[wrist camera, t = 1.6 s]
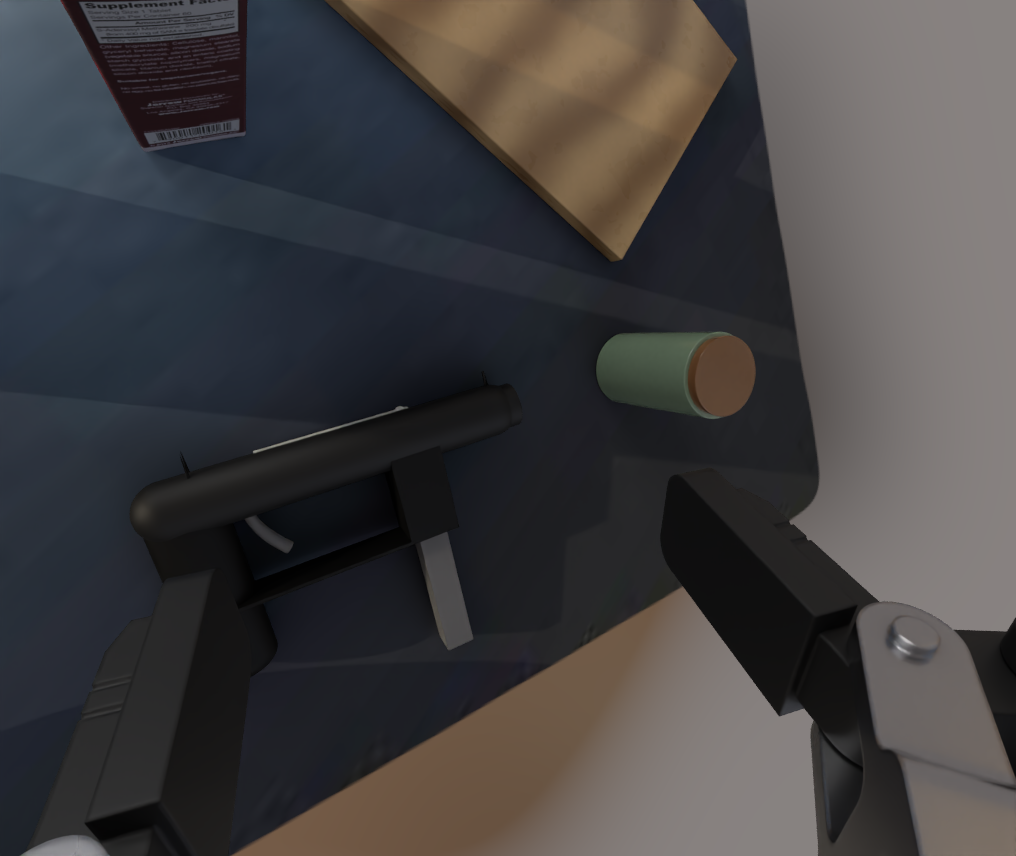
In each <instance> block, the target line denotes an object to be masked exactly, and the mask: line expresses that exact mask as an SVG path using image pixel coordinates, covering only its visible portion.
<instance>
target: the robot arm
mask: <svg viewBox="0 0 1016 856" xmlns="http://www.w3.org/2000/svg"><path fill="white" fill-rule="evenodd" d="M660 541H661V548H662V552H663V555H664V558H665V561H666V563H667V565H668V566H669V568H670V569H671V571H672V572H673V573H674V575H675V576H676V577H677V579H678V580H679V582H680V583H681V584H682V586H683V587H684V588H685V590H686V591H687V592H688V594H689V595H690V596H691V597H692V599H693V600H694V602H695V603H696V605H697V606H698V607H699V609H700V610H701V611H702V613H703V614H704V615H705V617H706V618H707V619H708V621H709V622H710V623H711V625H712V626H713V628H714V629H715V630H716V631H717V633H718V634H719V636H720V637H721V638H722V640H723V641H724V642H725V644H726V645H727V646H728V648H729V649H730V651H731V652H732V653H733V654H734V656H735V657H736V659H737V660H738V661H739V663H740V664H741V665H742V667H743V668H744V669H745V671H746V672H747V674H748V675H749V676H750V678H751V679H752V680H753V682H754V683H755V684H756V686H757V687H758V688H759V690H760V691H761V692H762V694H763V695H764V696H765V698H766V699H767V701H768V702H769V703H770V704H771V706H772V707H773V709H774V710H775V711H776V713H777V714H778V715H779V716H782V715H785V714H788V713H791V712H794V711H798V710H800V709H805V710H806V711H807V712H808V714H809V715H810V716H811V717H812V719H813V720H814V721H813V724H812V727H811V749H812V763H813V777H814V778H813V779H814V793H815V808H816V822H817V837H818V856H1016V618H1015V619H1014V621H1013V623H1012V624H1011V626H1010V627H1009V629H1008V631H1007V632H1000V631H972V630H971V631H970V630H952V629H951V628H950V627H949V626H948V625H947V624H945V623H944V622H942V621H941V620H940V619H938V618H936V617H935V616H933V615H931V614H929V613H927V612H925V611H923V610H921V609H918V608H916V607H913V606H910V605H906V604H902V603H896V602H879V601H878V600H877V599H876V598H874V597H873V596H872V595H871V594H870V593H869V592H868V591H867V590H866V589H864V588H863V587H862V586H861V585H860V584H859V583H858V582H857V581H855V580H854V579H853V578H852V577H851V576H850V575H849V574H848V573H847V572H846V571H845V570H843V569H842V568H841V567H840V566H839V565H838V564H837V563H836V562H835V561H833V560H832V559H831V558H830V557H829V556H828V555H827V554H826V553H824V552H823V551H822V550H821V549H820V548H819V547H818V546H817V545H816V544H815V543H813V542H812V541H811V540H809V541H808V540H807V538H806V535H805V534H804V533H802V532H801V531H800V530H799V529H798V528H797V527H796V526H795V525H791V524H790V523H789V520H788V519H787V518H786V517H785V516H784V515H783V514H781V513H780V512H779V511H778V510H777V509H776V508H775V507H774V506H773V505H772V504H770V503H769V502H768V501H766V500H764V499H762V498H760V497H758V496H756V495H754V494H752V493H750V492H748V491H746V490H744V489H742V488H740V489H735V488H734V487H733V486H732V485H731V484H730V483H729V482H728V481H727V480H726V479H725V478H724V477H723V476H722V475H720V474H719V473H718V472H717V471H716V470H714V469H712V468H706V469H701V470H696V471H691V472H686V473H682V474H677V475H673V476H672V477H671V478H670V479H669V482H668V486H667V493H666V500H665V507H664V514H663V521H662V528H661V536H660ZM251 664H252V659H251V646H250V640H249V636H248V632H247V629H246V627H245V624H244V622H243V619H242V617H241V614H240V612H239V609H238V607H237V604H236V602H235V599H234V597H233V594H232V592H231V589H230V587H229V584H228V582H227V579H226V577H225V575H224V573H223V571H222V570H221V569H219V568H215V569H211V570H206V571H201V572H196V573H191V574H186V575H182V576H177V577H172V578H168V579H166V580H165V581H164V583H163V585H162V587H161V590H160V593H159V596H158V599H157V602H156V605H155V608H154V611H153V614H152V616H149V617H144V618H140V619H135V620H131V621H130V623H129V624H128V625H127V626H126V627H125V629H124V630H123V631H122V632H121V633H120V635H119V636H118V637H117V638H116V639H115V641H114V642H113V643H112V644H111V645H110V647H109V648H108V649H107V650H106V651H105V653H104V656H103V659H102V661H101V664H100V666H99V669H98V671H97V674H96V676H95V679H94V681H93V684H92V686H93V690H92V691H91V692H89V694H88V697H87V699H86V702H85V704H84V707H83V709H82V712H81V715H82V718H81V720H80V721H78V722H77V725H76V727H75V730H74V732H73V735H72V738H71V740H70V743H69V745H68V748H67V750H66V753H65V755H64V758H63V760H62V763H61V766H60V768H59V771H58V773H57V776H56V778H55V781H54V783H53V786H52V788H51V791H50V794H49V796H48V799H47V801H46V804H45V806H44V809H43V811H42V814H41V817H40V819H39V822H38V824H37V827H36V829H35V832H34V834H33V837H32V839H31V841H30V843H29V845H28V847H27V849H26V851H25V853H24V854H22V855H20V856H228V852H229V844H230V836H231V828H232V820H233V812H234V804H235V796H236V788H237V780H238V772H239V764H240V756H241V748H242V740H243V732H244V724H245V716H246V708H247V700H248V691H249V683H250V675H251Z"/></svg>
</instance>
